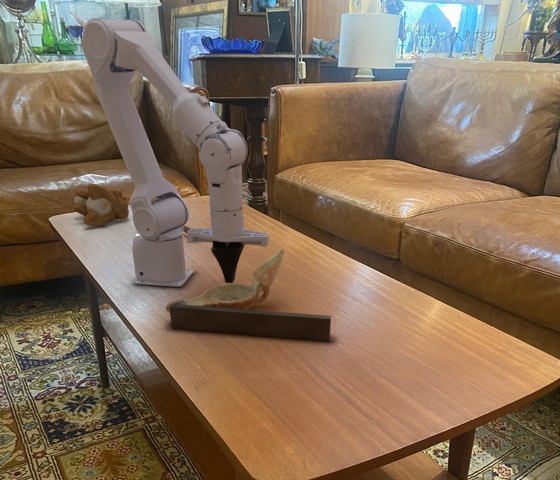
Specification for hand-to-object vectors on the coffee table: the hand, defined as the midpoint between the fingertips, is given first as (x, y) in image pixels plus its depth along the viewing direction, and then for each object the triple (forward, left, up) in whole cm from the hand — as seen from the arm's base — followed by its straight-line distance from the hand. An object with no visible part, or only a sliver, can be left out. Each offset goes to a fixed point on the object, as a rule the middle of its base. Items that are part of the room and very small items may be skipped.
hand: (230, 281), depth 102 cm
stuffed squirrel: (-41, +37, +2) cm, 55 cm away
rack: (+7, -16, -2) cm, 17 cm away
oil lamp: (+2, -8, -3) cm, 9 cm away
